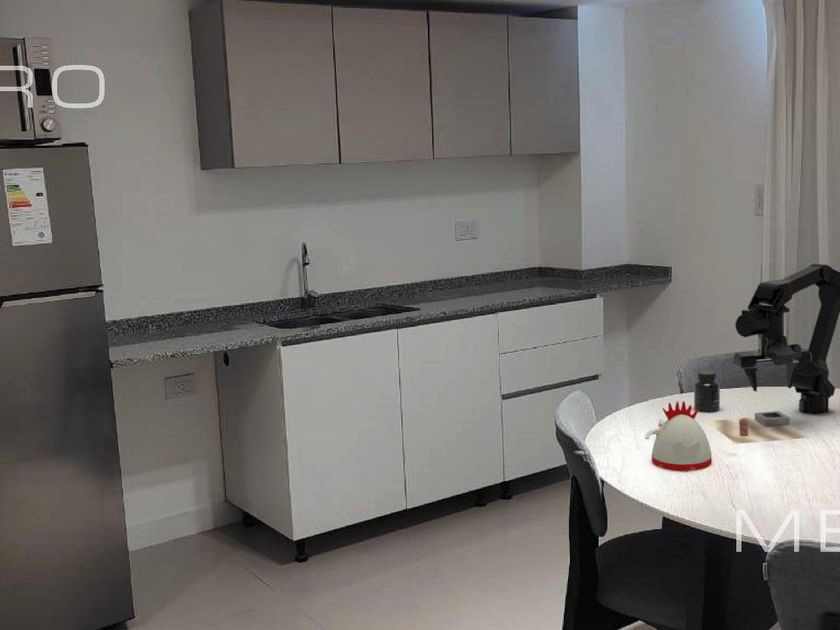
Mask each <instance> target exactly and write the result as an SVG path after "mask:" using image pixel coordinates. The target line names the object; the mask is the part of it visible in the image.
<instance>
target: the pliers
mask: <svg viewBox="0 0 840 630" xmlns="http://www.w3.org/2000/svg"><path fill="white" fill-rule="evenodd" d="M664 422H665V421H664V420H663V419H662V418H659V419H658V424H659V427H657V428H654V429H651V430H649V431H647V433H645V436H644V437H645V440H646V439H648V440H649V438H650V437H651V436H652V435H656V434H657V433H658V431H659V429H660V427H661V425H662V424H663V423H664ZM651 434H652V435H651ZM650 435H651V436H650ZM649 436H650V437H649Z"/></svg>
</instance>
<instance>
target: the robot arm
mask: <svg viewBox="0 0 840 630" xmlns="http://www.w3.org/2000/svg"><path fill="white" fill-rule="evenodd" d="M811 286H815V287H817V288H818V292H817V296H818V299H819V301H820V308H819V310H818V314H817V318H816V322H815V326H814V328H813V331H812V336H811V338H810V343H809V345H808V350H807V349H805V348H803V347H802V346H801V344H800V343H793V344H788V342H787V341H788V340H787V336H786V335H785V321H784V320H785V318H784V317H785V313H789V312H790V311H791V310H790V308H788V307H787V306H786V304H787V303H789V302H790V301H791V300H792V299H793V296H794V295H795V294H796V293H798V292H801V291H803V290H805V289H807V288H809V287H811ZM756 287H757V288H755V291H754V293H753V296H752V298H751V299H750V302H749V303H748V306H747V309H742V310H741V315H739V316H738V317H737V319H736V320H735V324H734V326H735V329H736V332H737V334H738V335H739V336H741V337H743V338H749V337H753V336H758V337H757V338H759V339H760V341H759V342H760V344H759V345H760V348H758V354H754V353H753V354H752V353H751V352H750V351H744V352H735V354H734V355H733V357H732V360H733V362H732V363H733V364H734V365H736V366H738V367H739V368H741V369H743V371H744V372H745V374H746V377H747V379H748V381H749V383H750V385H751V388H752V391H753V392H758V391H757V390H758V382H757V380H758V379H757V371H758V367H757V366H756V365H757V364H758V363H765V362H772V363H773V364H774V365H775V366H782V365H786V384H787V388H788V389H791V388H792V387H793V386H794V389H795V390H794V391H795V393H797V394H798V393H799V394H800V398H799V400H798V401H799V402H798V411H799V412H800V413H801V414H803V415H805V414H807V415H808V414H809V415H810V414H811V415H822V414H825V413H829V399H830V398H832V397H833V396H834V395H835V390H836V387H835V385H833V383H832V382H831V381H830V380H829V375H830V371H829V367H828V364H827V358H828V355H829V352H830V351H829V350H830V347H831V344H832V341H833V337H834V334H835V330H836V326H837V322H838V320H839V316H840V271H838V270H836V269H834V268H833V267H831V266H830V265H828V264H826V263H825V264H823V263H812V264H810V265H809V266H807V267H806V268H804V269H801V270H799V271H797V272H795V273H792V274H790V275H789V276H787V277H784V278H781V279H773V280H767V281H762V282H760V283H758V285H757V286H756Z"/></svg>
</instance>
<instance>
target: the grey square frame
mask: <svg viewBox="0 0 840 630" xmlns="http://www.w3.org/2000/svg"><path fill="white" fill-rule="evenodd" d="M754 417H755V421H757V422H758V423H760V424H761V425H763V426H764V427H773V426H785V425H791V424H790V423H791V419H790V416H788V415H786V414H785V413H784V412H783V413H782V412H781V411H779V410H777V411H776V410H775V411H773V410H772V411H763V412H762V411H761V412H754Z"/></svg>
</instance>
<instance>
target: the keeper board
mask: <svg viewBox="0 0 840 630" xmlns="http://www.w3.org/2000/svg"><path fill="white" fill-rule="evenodd" d="M705 422H706V423H707V424H708V425H710V426H711V427H713V428H714V429H716V430H717V431H718V432H720V433H721V434H722V435H724V436H725V437H726V438H727V439H729V440H730V441H731V442H733V443H734V444H749V443H760V442H772V441H774V442H775V441H785V440H796V439H806V438H807V439H809V438H810V436H809V435H808V434H806V433H804V432H802V431H801V430H799V428H797V427H794V426H793V425H791V424H790V425H785V426H773V427H764V426H763V425H761V424H760V423H758V422H757V421H755V416H752V417H751V416H750V417H739V418H728V419H718V420H717V419H715V420H706V421H705Z"/></svg>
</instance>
